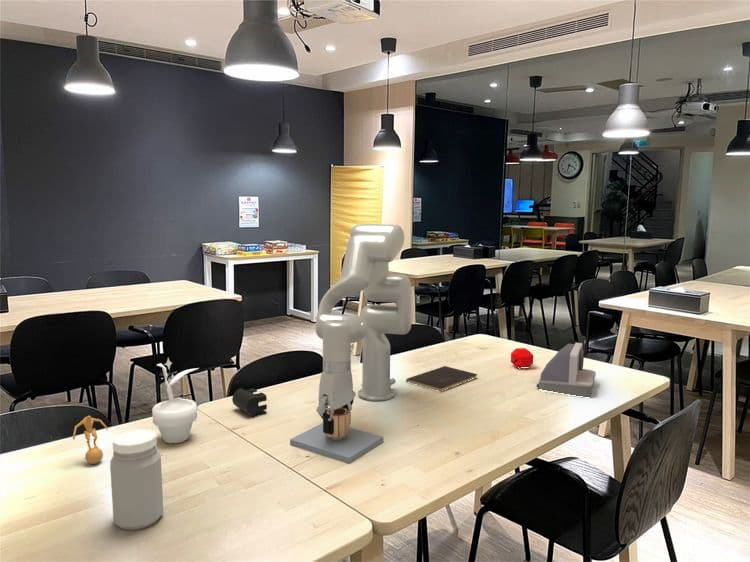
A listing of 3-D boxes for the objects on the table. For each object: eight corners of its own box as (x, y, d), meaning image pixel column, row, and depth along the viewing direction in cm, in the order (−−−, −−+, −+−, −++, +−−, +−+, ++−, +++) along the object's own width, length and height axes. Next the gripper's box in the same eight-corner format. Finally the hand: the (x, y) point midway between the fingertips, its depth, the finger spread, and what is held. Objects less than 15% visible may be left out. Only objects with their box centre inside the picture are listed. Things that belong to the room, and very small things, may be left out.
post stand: (326, 425, 166) (326, 404, 165) (383, 441, 155) (383, 419, 154) (290, 444, 153) (289, 421, 152) (349, 463, 142) (349, 439, 141)
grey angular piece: (588, 401, 189) (591, 358, 187) (528, 389, 201) (530, 349, 199) (603, 385, 206) (605, 345, 205) (547, 375, 218) (549, 337, 216)
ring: (334, 425, 158) (334, 405, 157) (354, 431, 154) (354, 410, 154) (319, 433, 152) (318, 412, 152) (339, 439, 149) (339, 418, 148)
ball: (508, 365, 231) (509, 347, 230) (527, 364, 232) (528, 346, 231) (515, 370, 223) (516, 352, 222) (534, 370, 224) (535, 351, 223)
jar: (102, 526, 113) (96, 441, 111) (138, 502, 122) (133, 424, 120) (139, 536, 110) (135, 449, 107) (174, 511, 119) (170, 430, 117)
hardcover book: (477, 380, 213) (477, 374, 212) (440, 394, 196) (440, 387, 196) (443, 371, 224) (443, 365, 223) (405, 383, 207) (406, 377, 207)
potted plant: (154, 451, 148) (150, 359, 145) (153, 435, 158) (148, 349, 155) (204, 443, 153) (201, 354, 150) (199, 428, 163) (196, 344, 160)
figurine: (80, 471, 137) (76, 424, 135) (71, 463, 141) (67, 417, 139) (114, 460, 143) (112, 415, 141) (105, 453, 147) (102, 409, 145)
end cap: (232, 410, 178) (231, 390, 177) (252, 405, 183) (251, 385, 182) (247, 419, 171) (246, 398, 170) (267, 414, 175) (267, 393, 174)
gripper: (345, 356, 160) (345, 416, 163) (305, 371, 146) (305, 436, 148) (366, 360, 156) (366, 421, 158) (327, 376, 142) (328, 443, 144)
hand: (337, 428), depth 153 cm, fingers closed on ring, 6 cm apart
